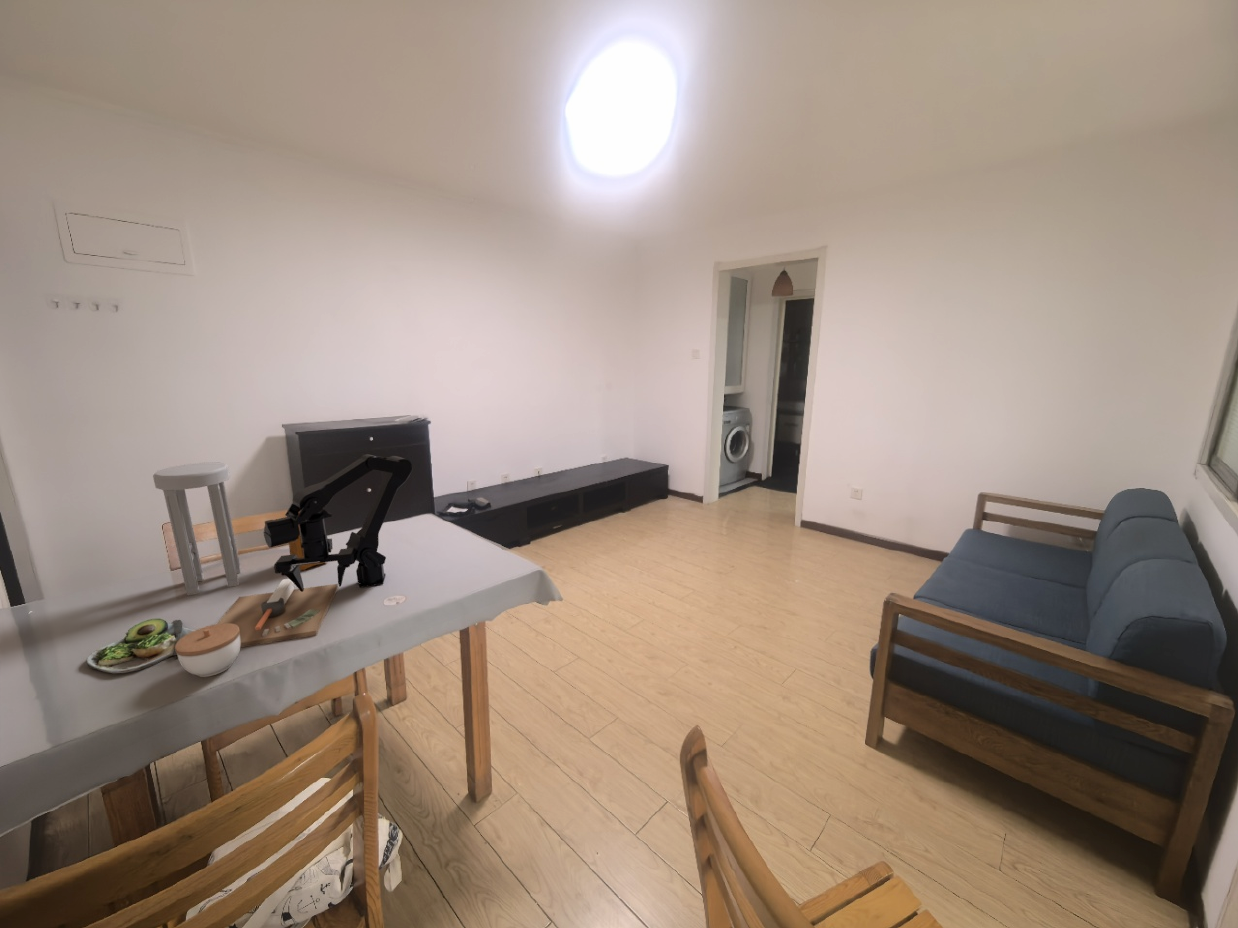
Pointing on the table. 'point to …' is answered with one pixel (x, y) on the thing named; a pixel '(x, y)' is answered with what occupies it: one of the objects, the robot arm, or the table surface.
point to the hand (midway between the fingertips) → (321, 588)
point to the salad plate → (140, 646)
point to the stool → (179, 514)
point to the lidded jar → (209, 649)
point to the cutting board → (295, 622)
